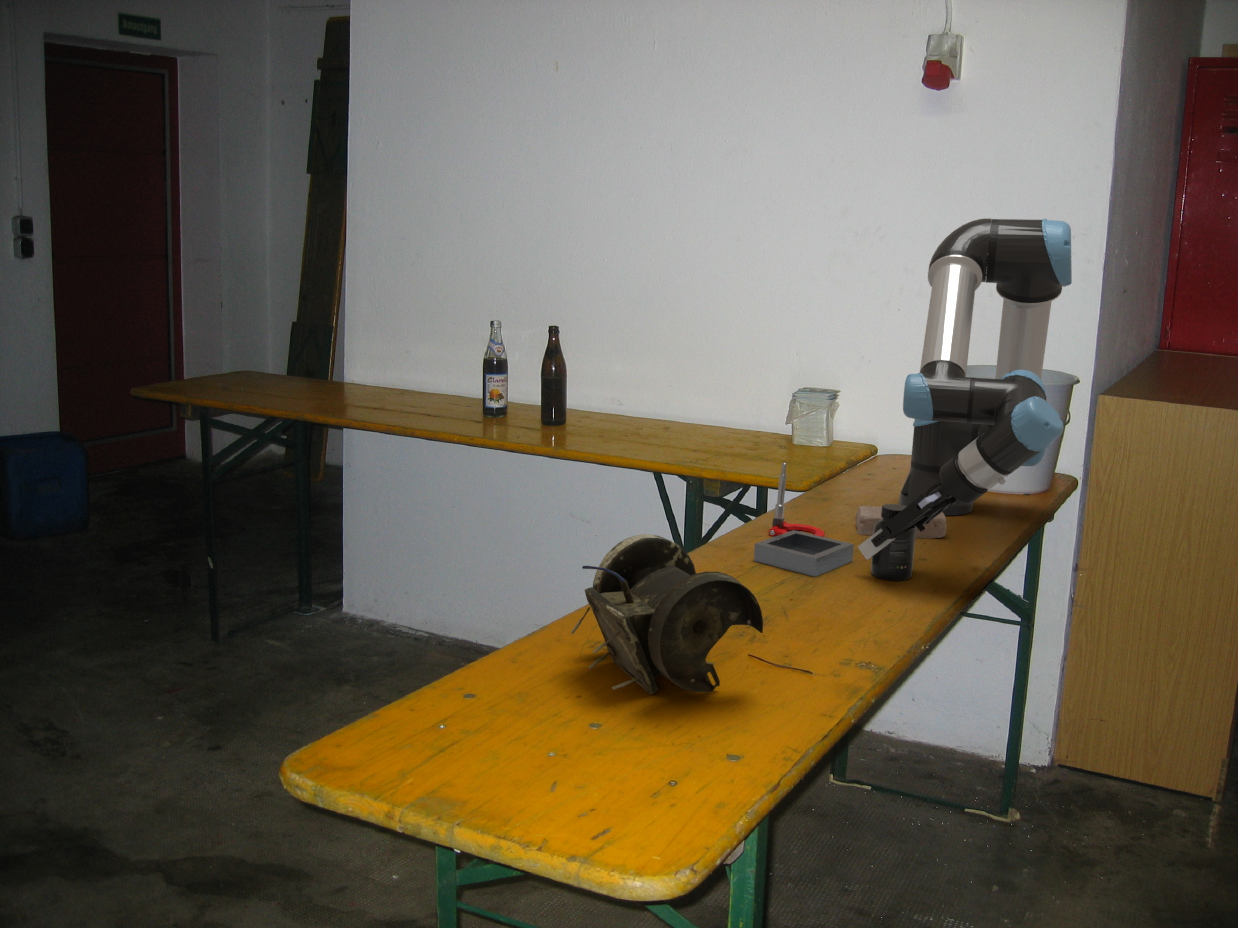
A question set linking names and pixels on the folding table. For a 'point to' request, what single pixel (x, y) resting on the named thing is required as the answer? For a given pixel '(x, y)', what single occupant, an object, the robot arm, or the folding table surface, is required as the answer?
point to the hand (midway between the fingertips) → (874, 548)
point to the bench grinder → (664, 612)
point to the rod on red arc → (778, 522)
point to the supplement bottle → (894, 550)
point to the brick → (872, 515)
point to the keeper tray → (803, 553)
